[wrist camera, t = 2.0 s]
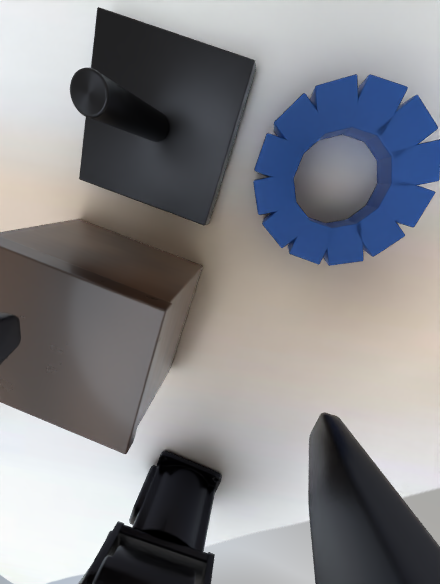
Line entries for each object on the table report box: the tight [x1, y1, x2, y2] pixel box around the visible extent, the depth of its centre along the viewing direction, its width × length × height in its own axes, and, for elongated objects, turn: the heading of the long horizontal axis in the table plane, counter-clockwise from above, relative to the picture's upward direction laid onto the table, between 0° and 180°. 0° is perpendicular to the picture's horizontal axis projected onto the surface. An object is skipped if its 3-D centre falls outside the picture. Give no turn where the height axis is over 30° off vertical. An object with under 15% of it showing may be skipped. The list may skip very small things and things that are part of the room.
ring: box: [253, 74, 440, 266], centre depth 16 cm, size 9×9×2 cm
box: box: [0, 219, 203, 454], centre depth 19 cm, size 10×10×8 cm
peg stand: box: [70, 7, 256, 226], centre depth 14 cm, size 9×9×8 cm
